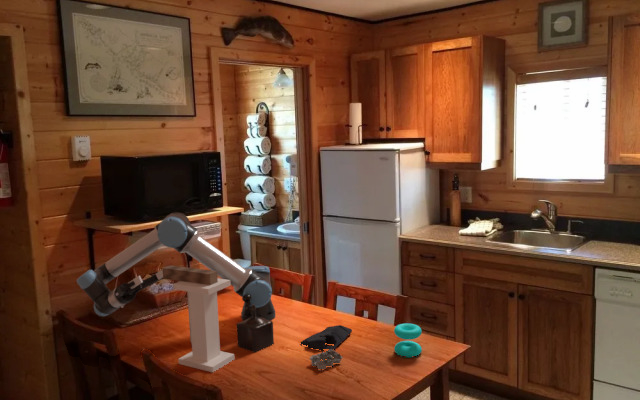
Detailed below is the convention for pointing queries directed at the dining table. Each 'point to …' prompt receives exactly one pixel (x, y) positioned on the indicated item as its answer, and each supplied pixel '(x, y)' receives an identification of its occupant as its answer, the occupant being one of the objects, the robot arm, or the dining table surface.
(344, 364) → the dining table surface
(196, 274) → the walnut bar
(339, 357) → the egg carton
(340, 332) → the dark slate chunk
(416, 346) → the donuts
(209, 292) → the pedestal stand
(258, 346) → the pepper mill
